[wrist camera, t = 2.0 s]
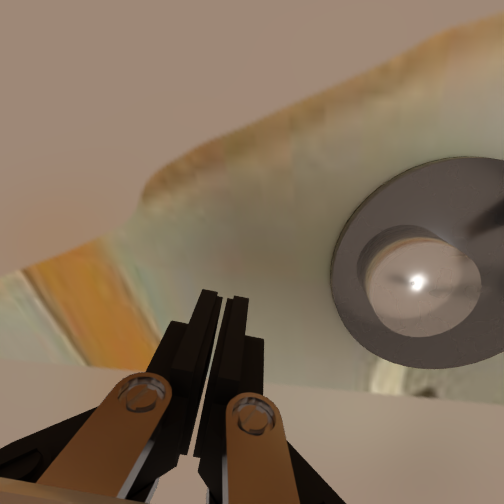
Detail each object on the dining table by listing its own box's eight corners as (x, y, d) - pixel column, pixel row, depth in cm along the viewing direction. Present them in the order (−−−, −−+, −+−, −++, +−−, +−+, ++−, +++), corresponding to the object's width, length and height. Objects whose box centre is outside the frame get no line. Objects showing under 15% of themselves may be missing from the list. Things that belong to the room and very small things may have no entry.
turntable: (616, 186, 20) (744, 208, 15) (495, 378, 26) (555, 445, 21) (372, 131, 20) (410, 133, 15) (305, 337, 26) (314, 394, 20)
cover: (461, 235, 21) (500, 258, 18) (425, 311, 23) (453, 346, 20) (373, 215, 21) (394, 234, 17) (345, 294, 23) (358, 325, 20)
